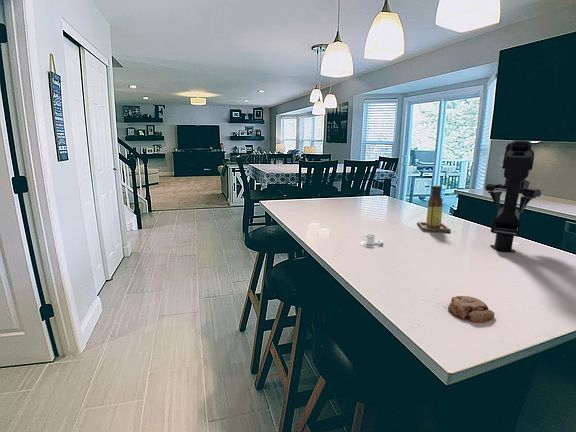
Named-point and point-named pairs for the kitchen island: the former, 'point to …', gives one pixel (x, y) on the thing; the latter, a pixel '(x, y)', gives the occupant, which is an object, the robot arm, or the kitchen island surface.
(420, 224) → the square brown tray
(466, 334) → the kitchen island surface
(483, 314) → the cookie
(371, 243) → the teacup and saucer
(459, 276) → the kitchen island surface
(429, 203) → the sauce bottle
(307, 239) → the kitchen island surface
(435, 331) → the kitchen island surface
